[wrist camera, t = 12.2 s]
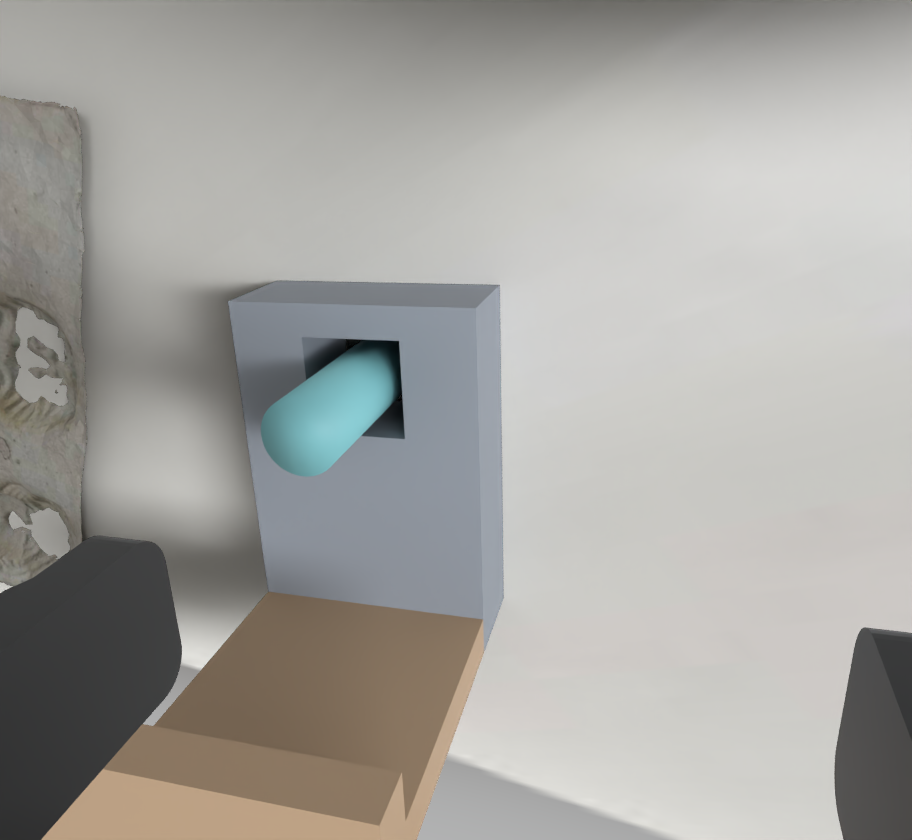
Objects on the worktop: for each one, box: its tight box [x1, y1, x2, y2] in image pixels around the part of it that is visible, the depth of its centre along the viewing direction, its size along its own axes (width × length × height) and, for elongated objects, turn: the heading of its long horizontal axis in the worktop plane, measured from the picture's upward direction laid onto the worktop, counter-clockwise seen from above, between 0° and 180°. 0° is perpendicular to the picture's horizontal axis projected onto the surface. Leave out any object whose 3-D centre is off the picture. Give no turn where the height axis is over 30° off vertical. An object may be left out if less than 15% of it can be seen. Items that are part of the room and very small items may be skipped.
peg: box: [261, 340, 402, 477], centre depth 36 cm, size 3×3×11 cm
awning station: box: [41, 281, 504, 840], centre depth 33 cm, size 18×14×22 cm
